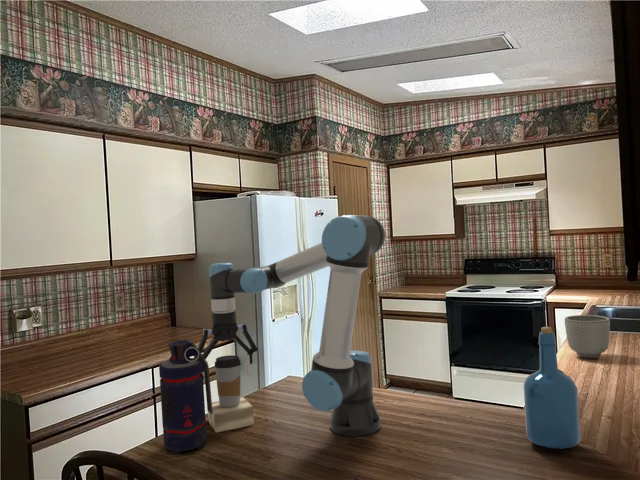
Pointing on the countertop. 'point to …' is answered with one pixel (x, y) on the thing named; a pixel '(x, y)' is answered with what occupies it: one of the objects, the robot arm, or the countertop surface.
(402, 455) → the countertop surface
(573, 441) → the wine bottle
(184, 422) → the grenade
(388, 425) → the countertop surface
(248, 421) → the maple block
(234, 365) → the coffee cup
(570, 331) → the planter
